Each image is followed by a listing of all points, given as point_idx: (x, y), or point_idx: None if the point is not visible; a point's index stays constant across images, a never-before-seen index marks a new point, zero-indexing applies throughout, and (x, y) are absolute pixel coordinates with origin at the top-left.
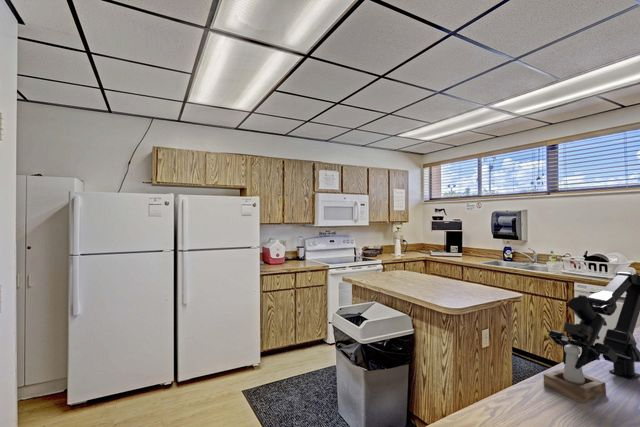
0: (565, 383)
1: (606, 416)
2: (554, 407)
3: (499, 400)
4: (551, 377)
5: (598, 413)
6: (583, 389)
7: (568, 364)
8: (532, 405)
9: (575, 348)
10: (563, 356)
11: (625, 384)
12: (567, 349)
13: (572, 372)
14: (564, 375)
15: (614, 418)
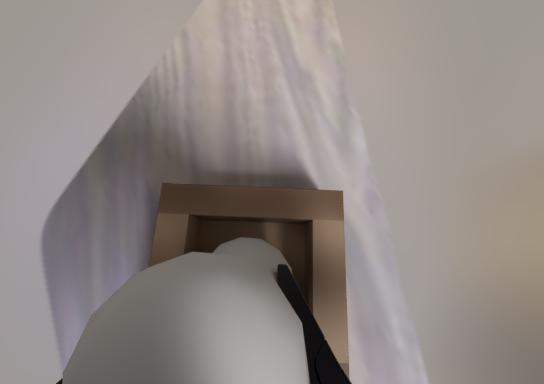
0: (234, 187)
1: (103, 180)
2: (218, 95)
3: (319, 3)
4: (301, 190)
5: (125, 177)
6: (160, 199)
7: (240, 253)
8: (257, 53)
9: (87, 357)
10: (304, 301)
11: None
12: (208, 256)
13: (222, 249)
14: (271, 247)
15: (83, 190)
